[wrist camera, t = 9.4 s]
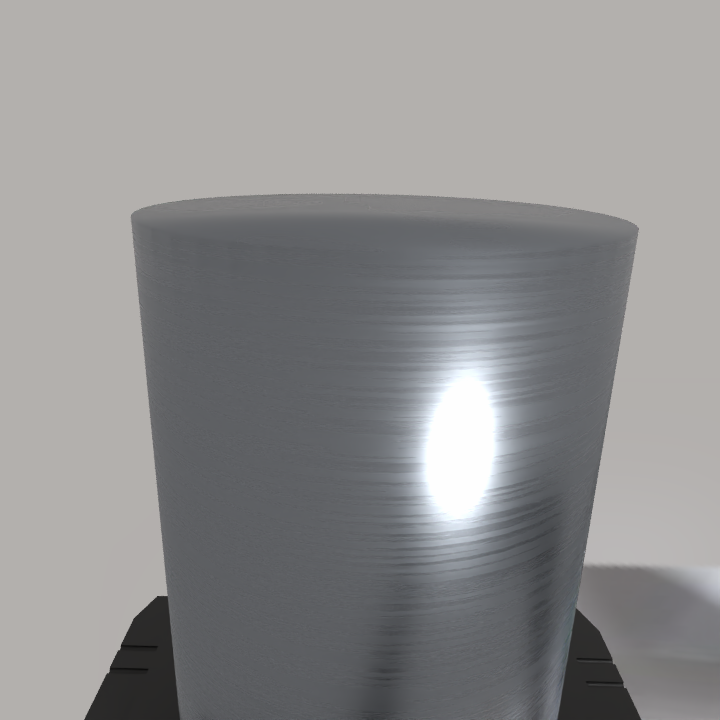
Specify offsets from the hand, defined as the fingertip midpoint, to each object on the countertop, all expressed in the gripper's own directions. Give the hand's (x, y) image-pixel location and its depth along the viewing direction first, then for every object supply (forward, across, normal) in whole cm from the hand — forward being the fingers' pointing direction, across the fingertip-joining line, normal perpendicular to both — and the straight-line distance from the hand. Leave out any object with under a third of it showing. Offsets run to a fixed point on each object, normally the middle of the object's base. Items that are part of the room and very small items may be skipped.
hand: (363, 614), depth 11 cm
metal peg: (-3, 0, +9) cm, 9 cm away
